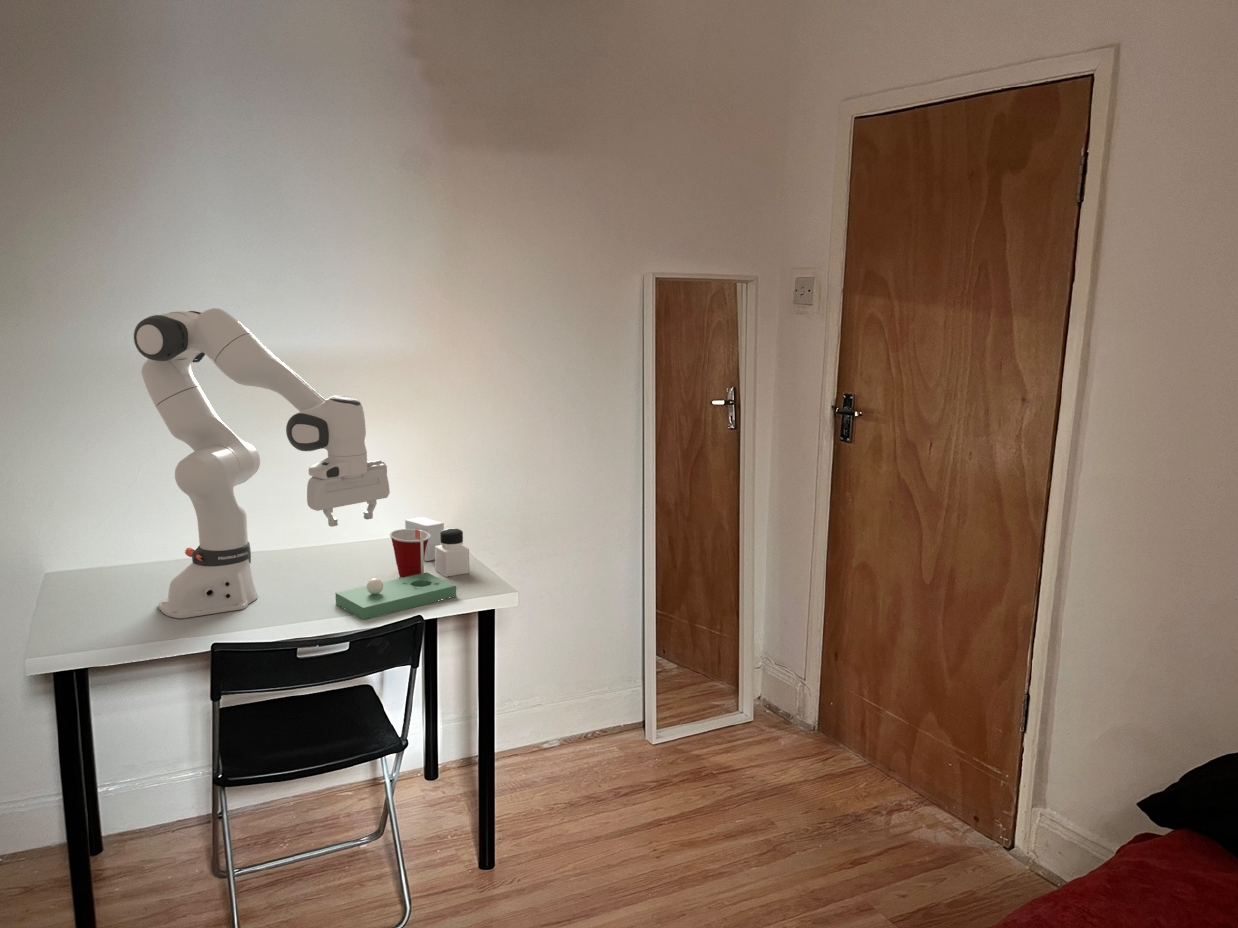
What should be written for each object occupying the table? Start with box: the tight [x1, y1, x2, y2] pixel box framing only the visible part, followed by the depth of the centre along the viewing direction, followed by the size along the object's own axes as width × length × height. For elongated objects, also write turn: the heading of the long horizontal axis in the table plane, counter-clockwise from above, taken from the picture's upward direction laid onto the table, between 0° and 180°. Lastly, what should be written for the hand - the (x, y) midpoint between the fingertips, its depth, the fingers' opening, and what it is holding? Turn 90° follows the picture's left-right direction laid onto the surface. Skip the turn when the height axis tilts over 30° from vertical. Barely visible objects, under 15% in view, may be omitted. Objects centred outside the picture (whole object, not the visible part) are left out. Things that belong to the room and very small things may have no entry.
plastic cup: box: [389, 528, 431, 578], centre depth 261 cm, size 11×11×12 cm
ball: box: [366, 577, 383, 594], centre depth 238 cm, size 4×4×4 cm
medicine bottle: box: [434, 527, 470, 578], centre depth 266 cm, size 7×7×12 cm
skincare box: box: [404, 516, 445, 562], centre depth 280 cm, size 10×6×10 cm, turn 49°
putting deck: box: [335, 529, 457, 621], centre depth 242 cm, size 26×16×15 cm, turn 133°
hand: (351, 522), depth 230 cm, fingers open, 8 cm apart
